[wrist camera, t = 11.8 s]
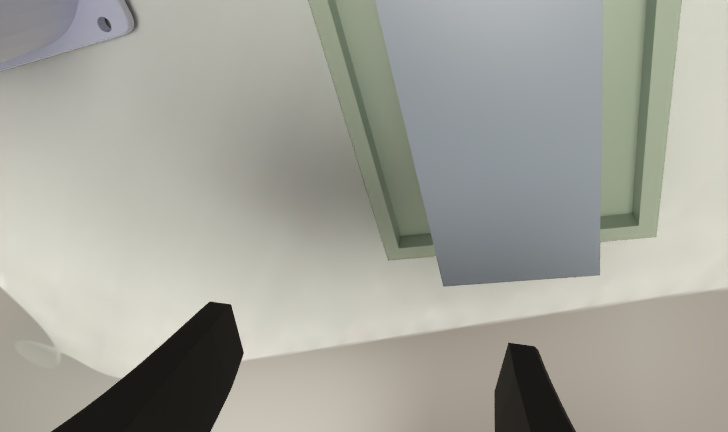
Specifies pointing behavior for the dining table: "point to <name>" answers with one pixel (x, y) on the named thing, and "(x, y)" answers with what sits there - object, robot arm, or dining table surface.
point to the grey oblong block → (503, 131)
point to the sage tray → (619, 117)
